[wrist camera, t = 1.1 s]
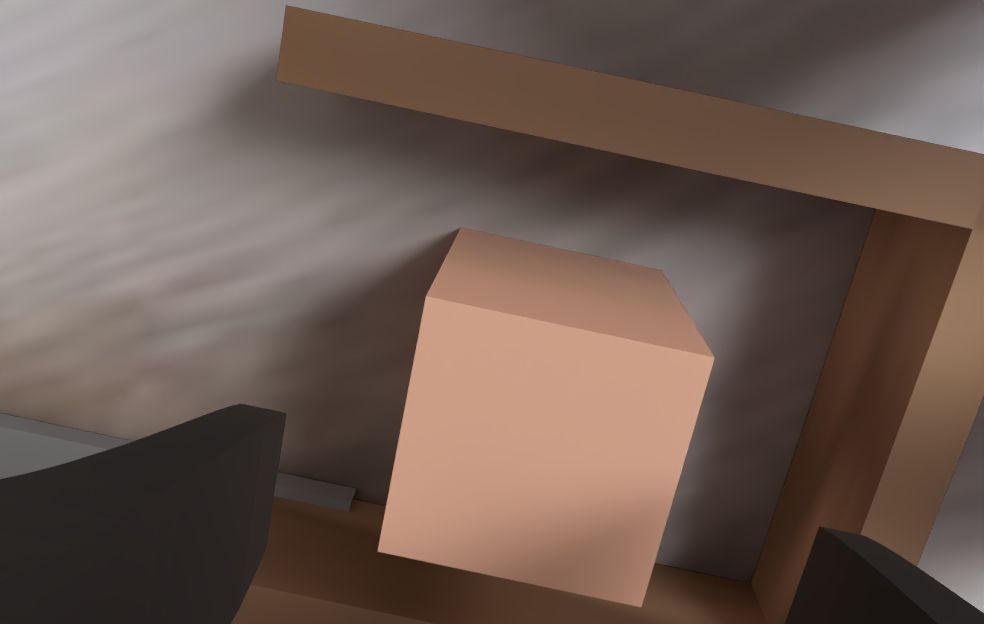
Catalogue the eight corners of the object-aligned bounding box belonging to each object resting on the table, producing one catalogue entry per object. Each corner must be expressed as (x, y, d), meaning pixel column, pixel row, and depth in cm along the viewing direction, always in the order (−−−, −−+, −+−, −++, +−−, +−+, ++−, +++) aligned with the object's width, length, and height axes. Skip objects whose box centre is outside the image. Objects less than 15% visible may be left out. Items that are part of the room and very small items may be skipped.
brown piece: (785, 635, 21) (839, 761, 17) (266, 526, 21) (205, 628, 17) (956, 151, 18) (1071, 173, 14) (341, 19, 18) (285, 5, 14)
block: (612, 453, 20) (641, 606, 14) (424, 413, 20) (377, 552, 14) (661, 270, 19) (715, 357, 13) (461, 227, 19) (426, 296, 13)
